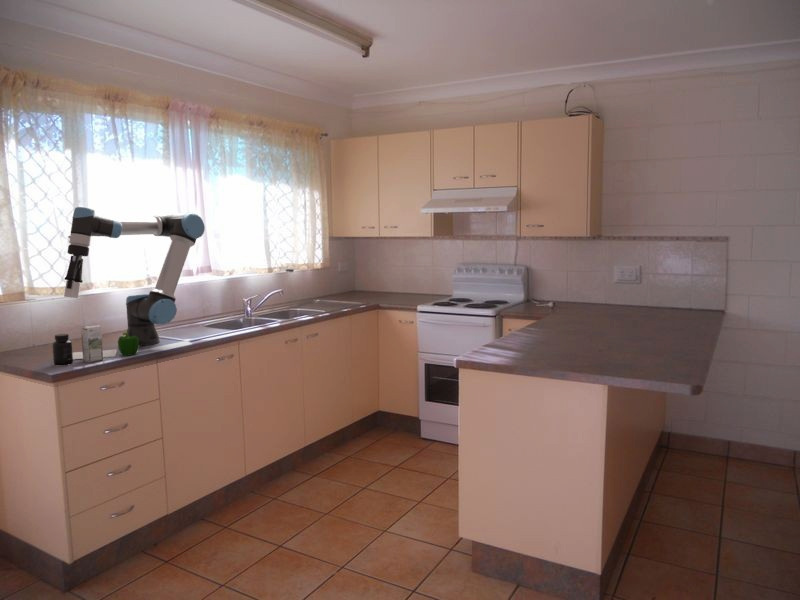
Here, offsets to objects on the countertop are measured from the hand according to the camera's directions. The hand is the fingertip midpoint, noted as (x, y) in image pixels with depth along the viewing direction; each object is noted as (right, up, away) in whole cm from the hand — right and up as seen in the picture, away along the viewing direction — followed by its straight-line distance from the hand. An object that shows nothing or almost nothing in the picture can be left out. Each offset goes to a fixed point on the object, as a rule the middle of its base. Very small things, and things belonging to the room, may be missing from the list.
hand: (71, 297), depth 243 cm
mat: (+1, -25, +15) cm, 29 cm away
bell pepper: (+16, -25, +16) cm, 33 cm away
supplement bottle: (-2, -27, -2) cm, 27 cm away
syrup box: (+7, -26, +4) cm, 27 cm away
